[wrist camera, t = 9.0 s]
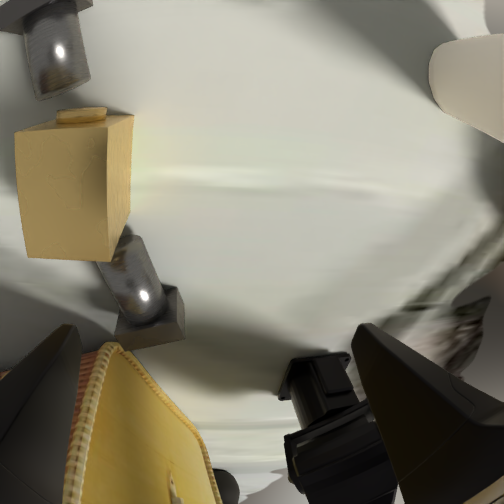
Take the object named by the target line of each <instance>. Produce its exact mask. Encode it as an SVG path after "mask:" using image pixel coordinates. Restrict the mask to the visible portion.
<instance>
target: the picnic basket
mask: <svg viewBox="0 0 504 504" xmlns="http://www.w3.org/2000/svg"><path fill="white" fill-rule="evenodd" d="M8 372H9V371H5V372H0V380H1V379H2V378H3V377H4V376H5V375H6V374H7V373H8ZM62 504H223V503H222V500H221V497H220V494H219V490H218V487H217V484H216V480H215V477H214V473H213V470H212V466H211V463H210V459H209V455H208V452H207V449H206V446H205V444H204V442H203V440H202V438H201V436H200V434H199V432H198V431H197V429H196V428H195V426H194V425H193V424H192V423H191V421H190V420H189V419H188V418H187V417H186V416H185V415H184V414H183V413H182V412H181V411H180V410H179V408H178V407H177V406H176V405H175V404H174V403H173V402H172V401H171V399H170V398H169V397H168V396H167V395H166V394H165V393H164V391H163V390H162V389H161V388H160V387H159V386H158V384H157V383H156V382H155V381H154V380H153V378H152V377H151V376H150V375H149V374H148V372H147V371H146V370H145V369H144V367H143V366H142V365H141V364H140V362H139V361H138V360H137V358H136V357H135V356H134V355H133V354H132V353H131V352H130V351H126V352H125V351H124V350H123V348H122V347H121V345H120V344H119V343H118V342H105V343H104V344H103V345H102V346H101V347H100V349H99V350H97V351H93V352H89V353H85V354H82V356H81V364H80V373H79V382H78V392H77V398H76V403H75V409H74V414H73V419H72V425H71V431H70V437H69V444H68V451H67V459H66V467H65V477H64V487H63V501H62Z"/></svg>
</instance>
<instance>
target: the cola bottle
mask: <svg viewBox="0 0 504 504" xmlns="http://www.w3.org/2000/svg"><path fill="white" fill-rule="evenodd" d="M213 473H214V477H215V480H216V484H217V487H218V490H219V494H220V497H221V500H222V503H223V504H238V500H239V494H240V491H239V486H238V484H237V482H236V480H235V478H234V477H233V476H232V475H231V474H230V473H228V472H225V471H218V470H213Z"/></svg>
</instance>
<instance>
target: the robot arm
mask: <svg viewBox="0 0 504 504" xmlns="http://www.w3.org/2000/svg"><path fill="white" fill-rule="evenodd" d="M351 348H352V352H353V355H354V359H355V362H356V366H357V369H358V373H359V377H360V380H361V383H362V386H363V389H364V392H365V394H366V397H367V398H365V400H363V401H361V402H359V400H358V398H357V396H356V394H355V392H354V390H353V388H354V387H353V385H352V383H351V381H350V379H349V377H348V375H347V373H346V371H345V370H346V368H347V366H348V364H349V362H350V360H351V356H350V354H340V355H331V356H321V357H310V358H298V359H293V360H292V361H291V362H290V364H289V367H288V369H287V372H286V375H285V377H284V380H283V383H282V385H281V388H280V391H279V393H278V400H280V401H284V400H292V403H293V406H294V409H295V412H296V415H297V417H298V420H299V423H300V426H301V429H302V430H299V431H297V432H294V433H292V434H287V435H285V436H284V441H285V443H284V448H285V454H286V461H287V467H288V480H289V482H290V483H293V484H294V485H295V486H296V488H297V489H298V491H299V492H300V493H301V494H305V495H306V497H307V499H308V502H309V504H394V501H395V497H396V492H397V486H398V484H399V487H400V490H401V493H402V496H403V499H404V502H405V504H504V402H501V401H499V400H497V399H495V398H493V397H492V396H489V395H488V394H486V393H484V392H482V391H480V390H478V389H476V388H474V387H473V386H471V385H469V384H467V383H466V382H464V381H462V380H461V379H459V378H457V377H456V376H454V375H453V374H451V373H448V371H446V370H445V369H443V368H441V367H440V366H438V365H437V364H435V363H434V362H432V361H430V360H429V359H427V358H426V357H424V356H422V355H421V354H419V353H418V352H416V351H415V350H413V349H411V348H410V347H408V346H407V345H405V344H403V343H402V342H400V341H399V340H397V339H395V338H394V337H392V336H391V335H389V334H388V333H386V332H384V331H383V330H381V329H380V328H378V327H376V326H375V325H373V324H371V323H362V324H360V325H359V326H358V327H357V330H356V332H355V334H354V337H353V339H352V342H351ZM81 356H82V344H81V340H80V337H79V333H78V330H77V327H76V325H74V324H62V325H61V326H60V327H58V328H57V329H56V330H55V331H54V332H53V333H52V334H50V335H49V336H48V337H47V338H46V339H45V340H44V341H42V342H41V343H40V344H39V345H38V346H37V347H36V348H34V349H33V350H32V351H31V352H30V353H29V354H28V355H27V356H26V357H25V358H23V359H22V360H21V361H20V362H19V363H18V364H17V365H16V366H15V367H14V368H13V369H11V370H10V371H9V372H8V373H7V374H6V375H5V376H4V377H3V378H2V379H1V380H0V504H62V501H63V487H64V477H65V467H66V459H67V451H68V444H69V437H70V431H71V425H72V419H73V414H74V409H75V403H76V398H77V392H78V382H79V373H80V364H81ZM373 420H374V421H373ZM398 482H399V483H398Z"/></svg>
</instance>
